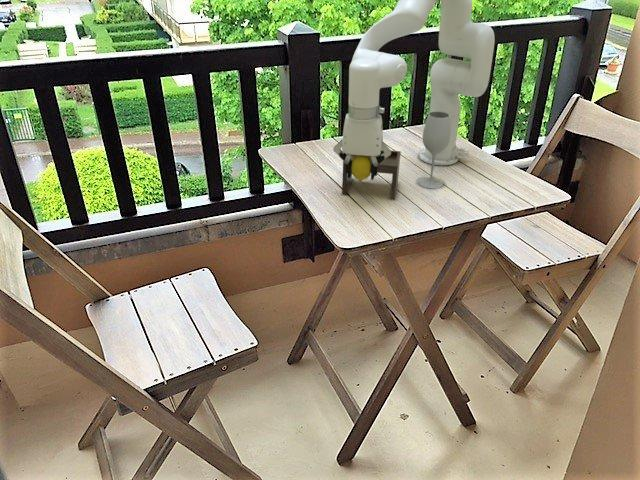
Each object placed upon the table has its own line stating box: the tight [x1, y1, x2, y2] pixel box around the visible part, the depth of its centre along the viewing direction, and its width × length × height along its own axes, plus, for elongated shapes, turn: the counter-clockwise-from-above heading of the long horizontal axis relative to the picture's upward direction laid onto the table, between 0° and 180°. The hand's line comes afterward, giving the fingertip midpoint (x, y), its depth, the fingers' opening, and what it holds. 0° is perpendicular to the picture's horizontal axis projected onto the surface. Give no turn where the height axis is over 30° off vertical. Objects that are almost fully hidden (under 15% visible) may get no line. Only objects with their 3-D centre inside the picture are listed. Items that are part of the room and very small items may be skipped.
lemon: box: [351, 155, 372, 182], centre depth 140 cm, size 6×6×8 cm
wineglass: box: [417, 111, 451, 190], centre depth 152 cm, size 8×8×21 cm
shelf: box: [341, 150, 402, 201], centre depth 151 cm, size 15×11×10 cm
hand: (361, 176), depth 141 cm, fingers closed on lemon, 5 cm apart
